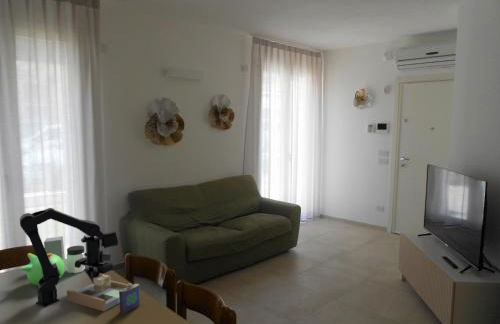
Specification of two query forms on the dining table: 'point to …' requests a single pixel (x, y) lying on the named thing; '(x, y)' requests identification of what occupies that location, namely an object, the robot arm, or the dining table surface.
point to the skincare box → (55, 247)
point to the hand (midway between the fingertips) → (94, 283)
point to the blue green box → (129, 298)
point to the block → (102, 282)
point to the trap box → (97, 296)
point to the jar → (75, 258)
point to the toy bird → (35, 268)
